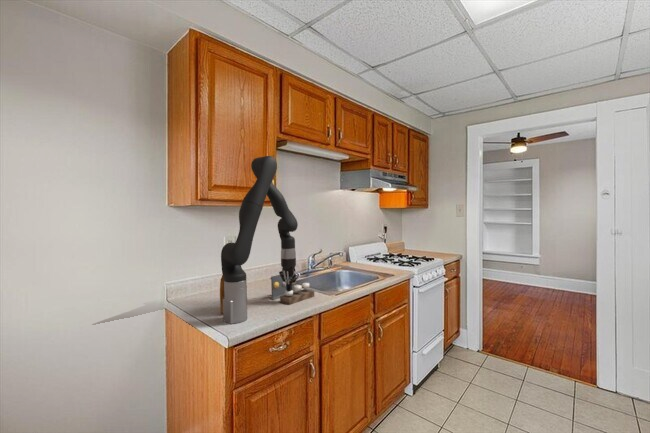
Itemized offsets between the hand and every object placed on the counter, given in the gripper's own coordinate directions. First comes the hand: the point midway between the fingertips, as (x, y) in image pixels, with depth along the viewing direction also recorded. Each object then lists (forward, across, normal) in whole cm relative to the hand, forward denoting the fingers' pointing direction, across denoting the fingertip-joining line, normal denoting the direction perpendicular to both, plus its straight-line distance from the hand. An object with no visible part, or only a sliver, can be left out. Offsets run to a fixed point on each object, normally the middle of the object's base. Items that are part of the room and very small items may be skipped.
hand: (289, 290), depth 156 cm
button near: (+2, 0, 0) cm, 2 cm away
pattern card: (+6, -10, +6) cm, 13 cm away
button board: (+6, 0, +6) cm, 8 cm away
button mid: (+1, 0, +6) cm, 6 cm away
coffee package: (+6, -10, -25) cm, 28 cm away
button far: (+1, 0, +12) cm, 12 cm away
